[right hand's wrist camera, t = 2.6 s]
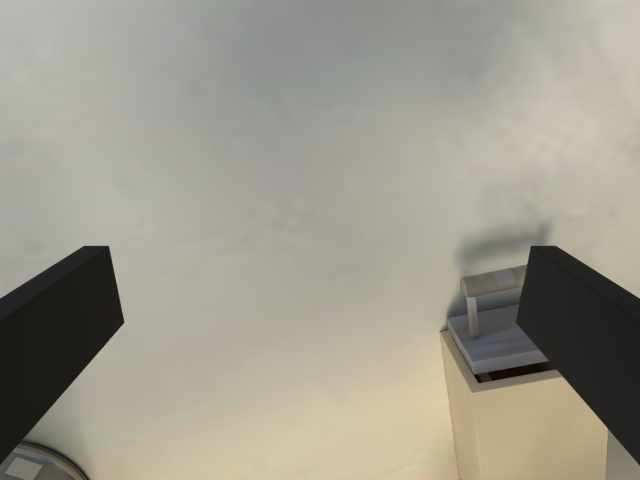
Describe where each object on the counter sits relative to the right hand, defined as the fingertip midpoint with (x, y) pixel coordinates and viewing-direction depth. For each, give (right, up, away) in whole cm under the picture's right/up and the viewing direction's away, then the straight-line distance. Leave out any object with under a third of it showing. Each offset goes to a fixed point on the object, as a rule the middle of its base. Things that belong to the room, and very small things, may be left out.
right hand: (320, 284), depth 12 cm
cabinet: (+18, -16, +27) cm, 37 cm away
